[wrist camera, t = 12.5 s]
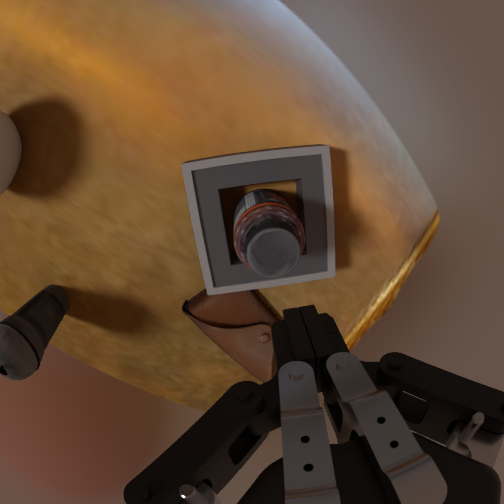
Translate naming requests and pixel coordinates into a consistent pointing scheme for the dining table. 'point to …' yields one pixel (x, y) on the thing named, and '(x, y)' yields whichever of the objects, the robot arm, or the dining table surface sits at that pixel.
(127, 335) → the dining table surface
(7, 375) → the beverage cup
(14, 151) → the lidded bowl
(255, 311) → the sunglasses case
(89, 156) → the dining table surface
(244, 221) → the supplement bottle
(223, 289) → the holder block
